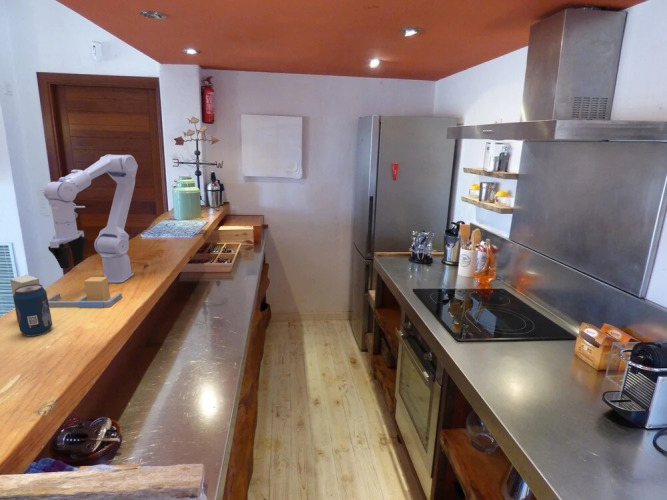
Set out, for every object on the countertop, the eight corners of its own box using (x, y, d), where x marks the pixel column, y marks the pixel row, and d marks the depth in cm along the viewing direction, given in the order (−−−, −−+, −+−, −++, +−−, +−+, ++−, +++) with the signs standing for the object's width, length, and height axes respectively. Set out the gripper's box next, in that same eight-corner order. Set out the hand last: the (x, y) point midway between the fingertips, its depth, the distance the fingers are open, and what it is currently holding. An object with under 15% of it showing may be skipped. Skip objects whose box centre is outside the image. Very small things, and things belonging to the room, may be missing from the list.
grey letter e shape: (57, 297, 131) (56, 292, 130) (122, 297, 131) (121, 292, 131) (40, 308, 123) (39, 302, 122) (109, 307, 123) (108, 302, 123)
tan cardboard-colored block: (94, 298, 130) (91, 277, 128) (110, 298, 130) (107, 277, 128) (87, 303, 126) (83, 281, 124) (104, 303, 126) (100, 281, 125)
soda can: (22, 328, 110) (13, 286, 107) (54, 323, 113) (46, 281, 110) (19, 339, 104) (9, 294, 101) (52, 333, 107) (43, 289, 104)
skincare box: (16, 320, 114) (8, 278, 111) (34, 314, 118) (26, 274, 115) (29, 325, 112) (21, 282, 109) (47, 319, 115) (39, 277, 112)
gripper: (65, 217, 134) (72, 257, 137) (35, 226, 120) (44, 271, 123) (87, 217, 134) (93, 257, 137) (61, 226, 120) (68, 271, 123)
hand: (72, 264), depth 130 cm, fingers open, 7 cm apart
